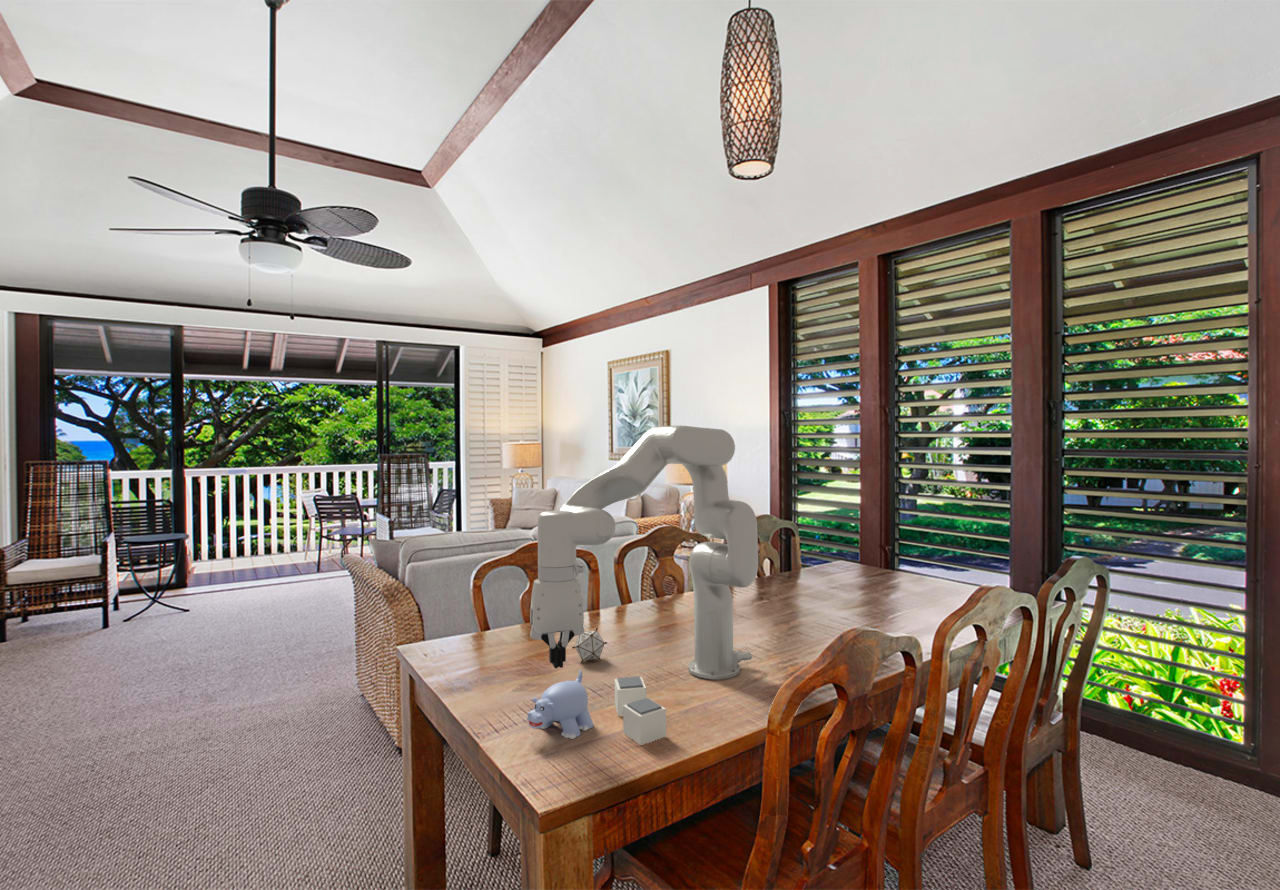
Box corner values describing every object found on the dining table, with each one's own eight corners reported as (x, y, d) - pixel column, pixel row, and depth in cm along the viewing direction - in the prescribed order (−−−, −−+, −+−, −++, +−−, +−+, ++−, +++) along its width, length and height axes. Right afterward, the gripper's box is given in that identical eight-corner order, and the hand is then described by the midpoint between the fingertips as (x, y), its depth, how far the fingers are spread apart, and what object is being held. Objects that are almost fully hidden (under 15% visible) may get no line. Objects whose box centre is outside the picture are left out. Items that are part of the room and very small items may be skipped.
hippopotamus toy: (512, 737, 121) (511, 688, 121) (563, 708, 134) (562, 664, 133) (553, 752, 115) (552, 701, 115) (603, 721, 127) (602, 675, 127)
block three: (642, 702, 136) (641, 675, 136) (646, 714, 130) (646, 685, 130) (614, 704, 135) (614, 677, 135) (618, 716, 129) (617, 688, 129)
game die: (594, 676, 160) (600, 653, 154) (565, 663, 162) (569, 640, 156) (608, 650, 167) (614, 627, 162) (579, 637, 169) (584, 614, 163)
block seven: (648, 725, 125) (648, 696, 125) (666, 737, 120) (665, 706, 120) (623, 733, 122) (622, 703, 122) (640, 746, 117) (640, 714, 117)
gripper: (589, 567, 129) (589, 655, 129) (516, 572, 124) (516, 664, 124) (598, 574, 122) (598, 667, 122) (521, 580, 117) (522, 677, 117)
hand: (557, 665), depth 123 cm, fingers closed
